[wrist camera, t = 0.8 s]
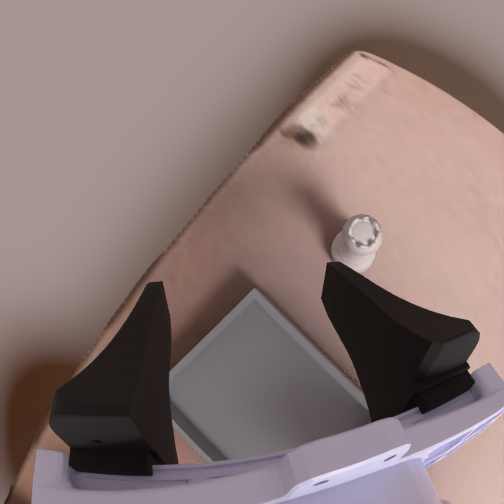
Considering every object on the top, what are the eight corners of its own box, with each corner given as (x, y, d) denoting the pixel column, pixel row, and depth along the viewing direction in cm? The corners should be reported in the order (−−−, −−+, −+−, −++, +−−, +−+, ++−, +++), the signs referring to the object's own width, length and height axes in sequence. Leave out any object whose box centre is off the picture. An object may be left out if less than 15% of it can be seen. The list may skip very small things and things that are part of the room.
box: (384, 411, 25) (390, 421, 22) (269, 498, 25) (265, 512, 23) (260, 290, 30) (254, 287, 27) (158, 389, 30) (144, 394, 28)
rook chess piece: (341, 282, 29) (350, 272, 21) (323, 240, 30) (324, 216, 22) (381, 263, 28) (403, 246, 21) (362, 222, 29) (376, 194, 22)
